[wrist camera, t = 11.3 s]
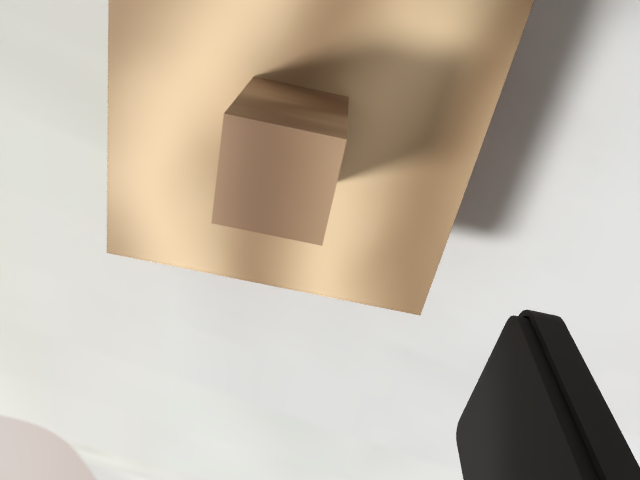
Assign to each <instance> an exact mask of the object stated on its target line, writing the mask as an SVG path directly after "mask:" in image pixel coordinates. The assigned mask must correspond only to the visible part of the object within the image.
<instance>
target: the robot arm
mask: <svg viewBox="0 0 640 480" xmlns="http://www.w3.org/2000/svg"><path fill="white" fill-rule="evenodd" d="M456 440H457V447H458V452H459V457H460V463H461V468H462V473H463V479H464V480H640V467H639V465H638V463H637V461H636V459H635V458H634V456H633V454H632V452H631V450H630V448H629V446H628V444H627V442H626V440H625V438H624V436H623V434H622V433H621V431H620V429H619V427H618V425H617V423H616V421H615V419H614V417H613V415H612V413H611V411H610V409H609V408H608V406H607V404H606V402H605V400H604V398H603V396H602V394H601V392H600V390H599V388H598V386H597V384H596V383H595V381H594V379H593V377H592V375H591V373H590V371H589V369H588V367H587V365H586V363H585V361H584V359H583V358H582V356H581V354H580V352H579V350H578V348H577V346H576V344H575V342H574V340H573V338H572V336H571V334H570V333H569V331H568V329H567V327H566V325H565V323H564V321H563V320H562V319H561V317H558V316H555V315H550V314H545V313H541V312H536V311H531V310H524V311H522V312H521V313H520V314H519V316H511V317H510V318H509V319H508V320H507V322H506V324H505V326H504V328H503V330H502V332H501V334H500V337H499V339H498V341H497V343H496V345H495V347H494V349H493V351H492V353H491V355H490V357H489V359H488V361H487V363H486V366H485V368H484V370H483V372H482V374H481V376H480V378H479V380H478V382H477V384H476V386H475V388H474V390H473V393H472V395H471V397H470V399H469V401H468V403H467V405H466V407H465V409H464V411H463V413H462V415H461V417H460V420H459V422H458V426H457V432H456Z"/></svg>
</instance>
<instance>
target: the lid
mask: <svg viewBox="0 0 640 480" xmlns="http://www.w3.org/2000/svg"><path fill="white" fill-rule="evenodd" d="M533 3H534V0H109V27H108V159H107V253H110V254H115V255H120V256H125V257H130V258H135V259H140V260H145V261H150V262H155V263H160V264H165V265H170V266H175V267H180V268H185V269H191V270H196V271H201V272H206V273H211V274H216V275H221V276H226V277H231V278H236V279H241V280H246V281H251V282H256V283H261V284H266V285H271V286H276V287H281V288H286V289H291V290H296V291H301V292H306V293H311V294H316V295H321V296H326V297H331V298H336V299H341V300H346V301H351V302H356V303H361V304H366V305H371V306H376V307H381V308H386V309H391V310H396V311H401V312H406V313H411V314H416V315H421V312H422V309H423V306H424V303H425V301H426V298H427V295H428V292H429V290H430V287H431V284H432V281H433V279H434V276H435V273H436V270H437V268H438V265H439V262H440V259H441V257H442V254H443V251H444V248H445V246H446V243H447V240H448V237H449V234H450V232H451V229H452V226H453V223H454V221H455V218H456V215H457V212H458V210H459V207H460V204H461V201H462V199H463V196H464V193H465V190H466V188H467V185H468V182H469V179H470V176H471V174H472V171H473V168H474V165H475V163H476V160H477V157H478V154H479V152H480V149H481V146H482V143H483V141H484V138H485V135H486V132H487V130H488V127H489V124H490V121H491V119H492V116H493V113H494V110H495V107H496V105H497V102H498V99H499V96H500V94H501V91H502V88H503V85H504V83H505V80H506V77H507V74H508V72H509V69H510V66H511V63H512V61H513V58H514V55H515V52H516V49H517V47H518V44H519V41H520V38H521V36H522V33H523V30H524V27H525V25H526V22H527V19H528V16H529V14H530V11H531V8H532V5H533Z"/></svg>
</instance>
